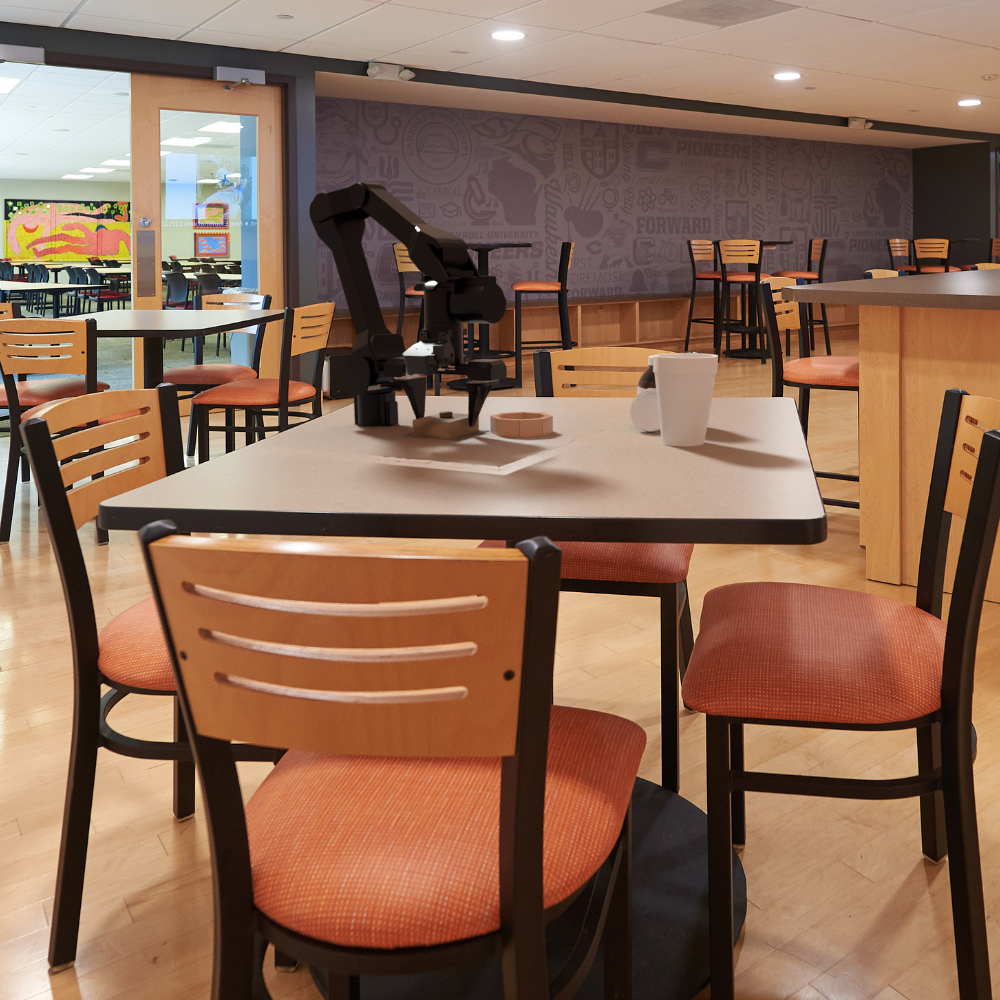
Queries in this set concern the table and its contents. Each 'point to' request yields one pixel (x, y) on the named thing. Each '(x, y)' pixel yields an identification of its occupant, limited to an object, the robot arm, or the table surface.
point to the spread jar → (646, 402)
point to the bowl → (521, 424)
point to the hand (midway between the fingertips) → (445, 424)
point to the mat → (455, 437)
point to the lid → (443, 425)
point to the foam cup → (684, 396)
